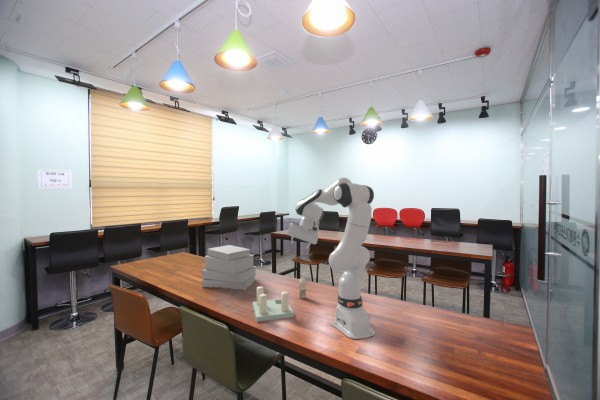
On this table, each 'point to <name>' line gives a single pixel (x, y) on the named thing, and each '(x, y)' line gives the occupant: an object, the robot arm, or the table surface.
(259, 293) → the stool seat
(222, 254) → the book stack
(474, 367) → the table surface
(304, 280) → the loose leg
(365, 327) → the robot arm
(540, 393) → the table surface
